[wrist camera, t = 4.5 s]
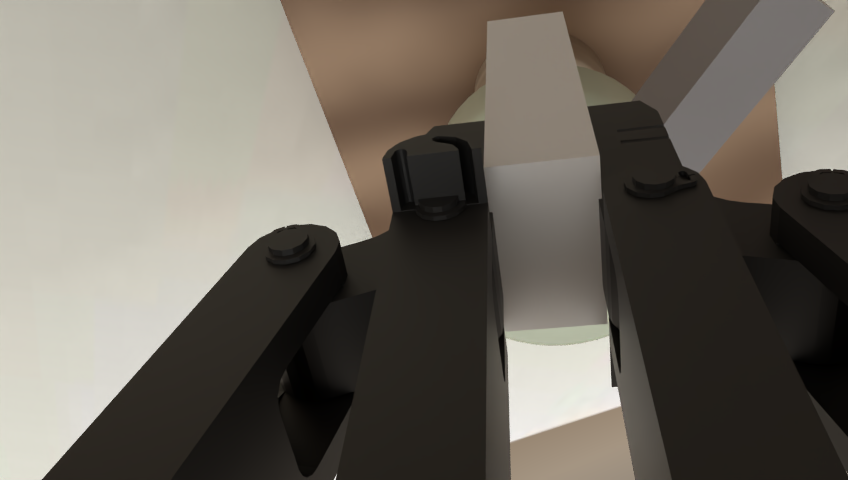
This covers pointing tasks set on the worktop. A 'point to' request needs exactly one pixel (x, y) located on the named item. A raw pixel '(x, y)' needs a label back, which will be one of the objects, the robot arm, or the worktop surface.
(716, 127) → the white cylinder
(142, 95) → the worktop surface
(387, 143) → the wooden board with post
